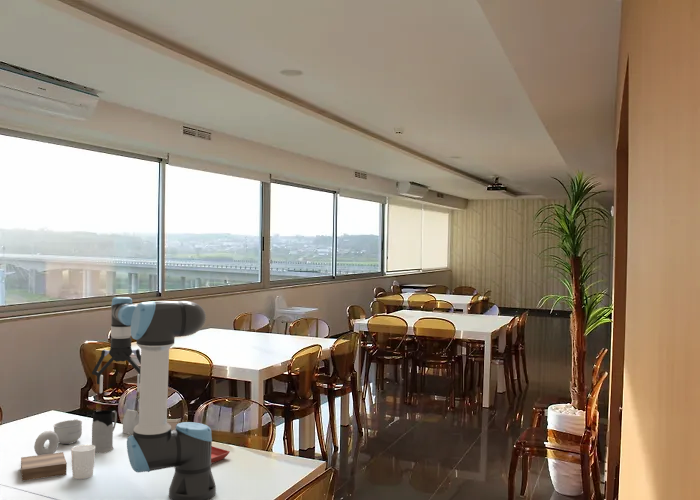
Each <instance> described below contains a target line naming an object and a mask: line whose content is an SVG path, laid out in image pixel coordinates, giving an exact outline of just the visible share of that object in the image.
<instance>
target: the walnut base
mask: <svg viewBox="0 0 700 500" xmlns="http://www.w3.org/2000/svg"><path fill="white" fill-rule="evenodd" d="M67 468H68V466H67V460H66V457H65V453H64V451H62V452H61V451H60V452H54V453H52V454H45V455H37V454H36V455H31V456H22V457H20V474H21V481H22V482H25V481H26V482H27V481H31V480H36V479H37V480H38V479H39V480H40V479H47V478H51V477H61V476H66V475H67Z"/></svg>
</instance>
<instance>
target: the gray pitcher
mask: <svg viewBox="0 0 700 500" xmlns="http://www.w3.org/2000/svg"><path fill="white" fill-rule="evenodd" d="M117 415H118V414H117V411H116V410H109V409H107V410H106V409H104V410H103V409H101V410H97V411H94V412H93V413H92V424H91V445H94V446H95V454H104V453H105V452H106V453H108V452H109V451H110V452H111V451H113V450H114V446H113V445H114V444H113V442H114V440H113V439H114V436H113V435H114V431H115V428H116V425H117V420H118V419H117V418H118V416H117ZM113 417H114V419H113ZM113 420H114V423H113ZM110 452H109V453H110Z"/></svg>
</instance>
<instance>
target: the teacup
mask: <svg viewBox="0 0 700 500" xmlns="http://www.w3.org/2000/svg"><path fill="white" fill-rule="evenodd" d="M82 424H83V421H81V420H79V419H76V418H74V419H73V420H71V419H70V420H64V421H59V422H56V423H55V424H54V425H53V432H55V433H56V434H57V436H58V439H59V443H58V444H62V445H68V444H73V443H76V442H77V441H78V440H79V439H81V437H82V435H83V434H82V433H83V431H82V430H83V429H82V427H83V426H82Z"/></svg>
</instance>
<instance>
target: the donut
mask: <svg viewBox="0 0 700 500" xmlns="http://www.w3.org/2000/svg"><path fill="white" fill-rule="evenodd" d="M47 440H48V441H49V443H48V446H47V447H45V443H46V442H47ZM59 444H60V443H59V439H58V436H57V434H56V433H55V432H54V430H53V431H52V430H45V431H44V432H42V433H40V434H39V435H38V436H37V438H36V439H35V442H34V446H33V448H34V452H35V454H36V456H37V455H45V454H52V453H56V451H57V449H58V447H59Z"/></svg>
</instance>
